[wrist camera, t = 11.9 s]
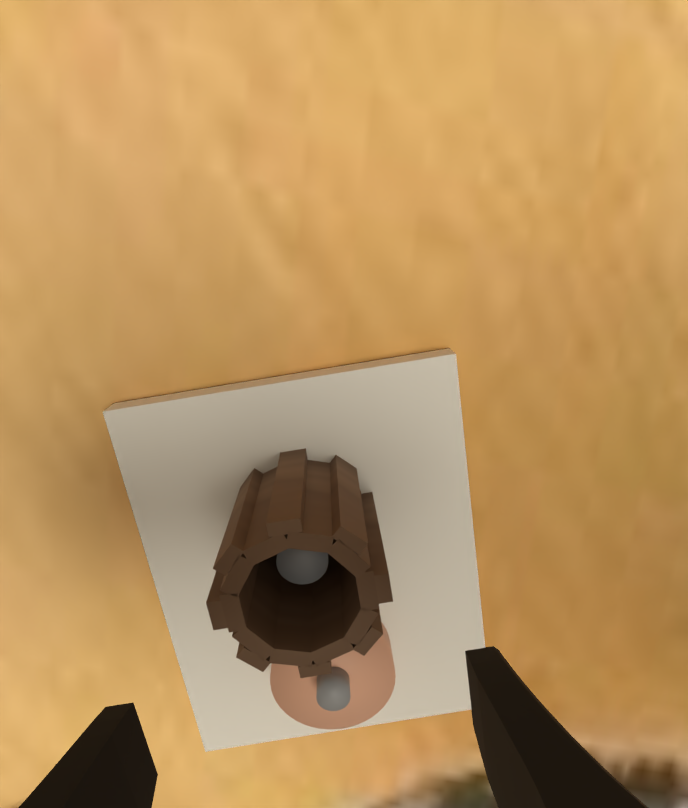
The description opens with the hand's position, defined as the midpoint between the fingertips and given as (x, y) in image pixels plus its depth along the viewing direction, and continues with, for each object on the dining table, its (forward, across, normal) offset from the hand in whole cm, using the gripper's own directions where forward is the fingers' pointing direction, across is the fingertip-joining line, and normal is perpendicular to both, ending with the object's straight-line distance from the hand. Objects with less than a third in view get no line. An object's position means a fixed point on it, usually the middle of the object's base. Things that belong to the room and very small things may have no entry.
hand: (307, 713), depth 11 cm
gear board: (+9, 0, +2) cm, 10 cm away
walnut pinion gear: (+8, 0, 0) cm, 8 cm away
